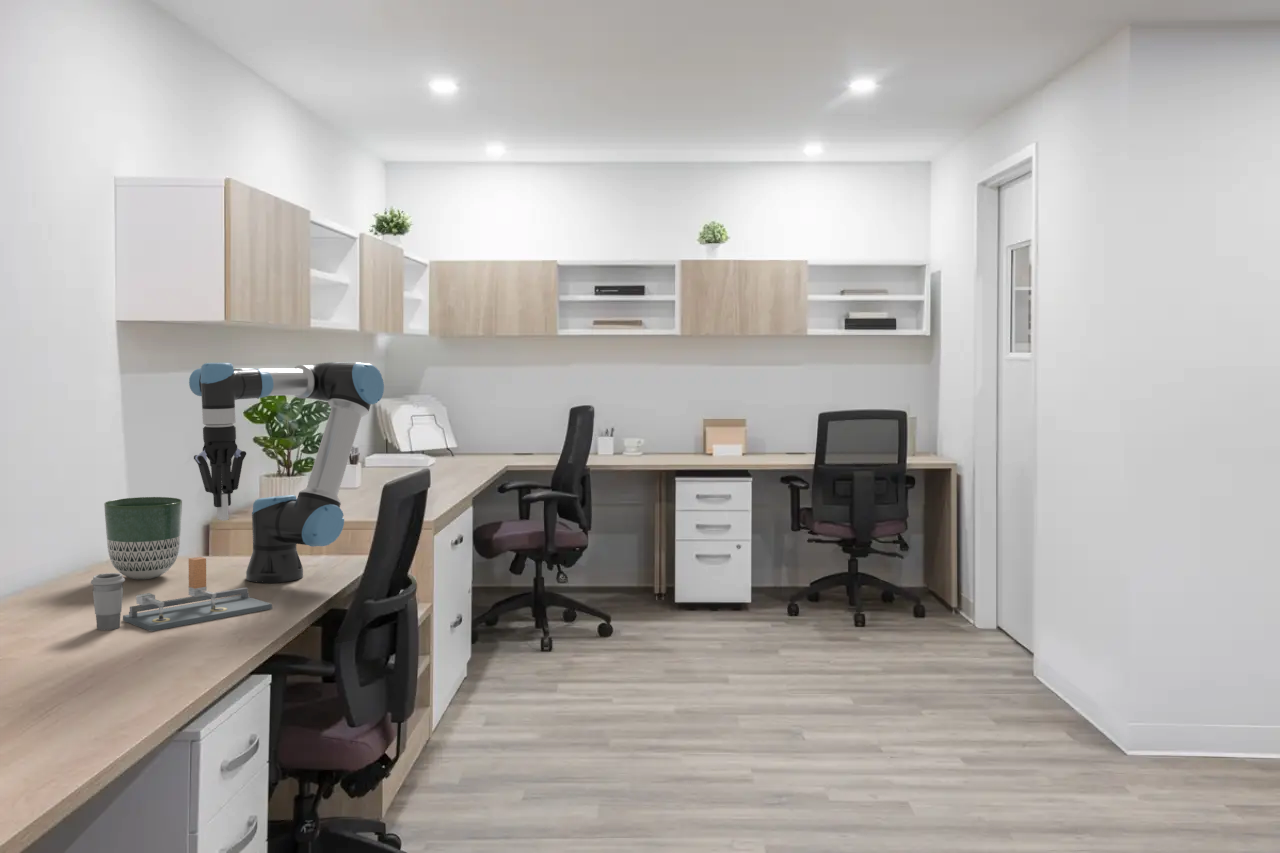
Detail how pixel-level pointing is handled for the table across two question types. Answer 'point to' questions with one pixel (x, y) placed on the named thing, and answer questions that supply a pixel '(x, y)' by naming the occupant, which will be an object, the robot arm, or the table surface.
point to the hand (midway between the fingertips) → (223, 519)
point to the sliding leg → (199, 579)
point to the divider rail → (177, 601)
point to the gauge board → (197, 613)
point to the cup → (108, 600)
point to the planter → (143, 535)
